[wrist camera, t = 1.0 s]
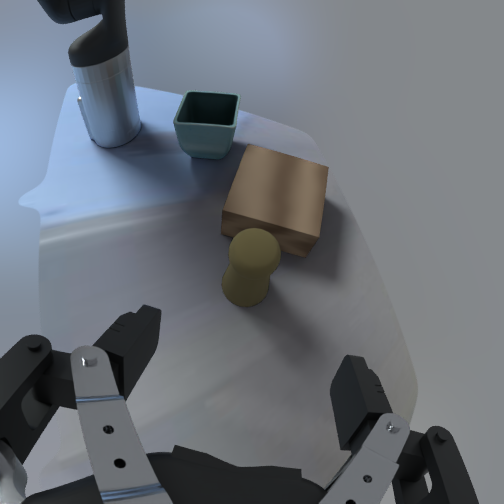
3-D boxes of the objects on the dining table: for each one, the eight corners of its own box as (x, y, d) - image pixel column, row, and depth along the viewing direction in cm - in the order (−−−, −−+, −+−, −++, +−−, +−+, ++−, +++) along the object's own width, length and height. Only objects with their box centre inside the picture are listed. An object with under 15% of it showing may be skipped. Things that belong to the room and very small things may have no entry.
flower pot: (187, 129, 49) (185, 89, 41) (236, 133, 50) (241, 93, 42) (176, 165, 45) (172, 123, 37) (231, 170, 46) (236, 127, 38)
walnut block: (220, 234, 41) (222, 209, 35) (243, 170, 46) (247, 143, 41) (305, 257, 41) (319, 237, 35) (316, 191, 46) (328, 167, 41)
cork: (266, 261, 40) (284, 218, 30) (270, 306, 37) (292, 275, 27) (220, 262, 39) (223, 218, 29) (222, 307, 36) (226, 276, 26)
